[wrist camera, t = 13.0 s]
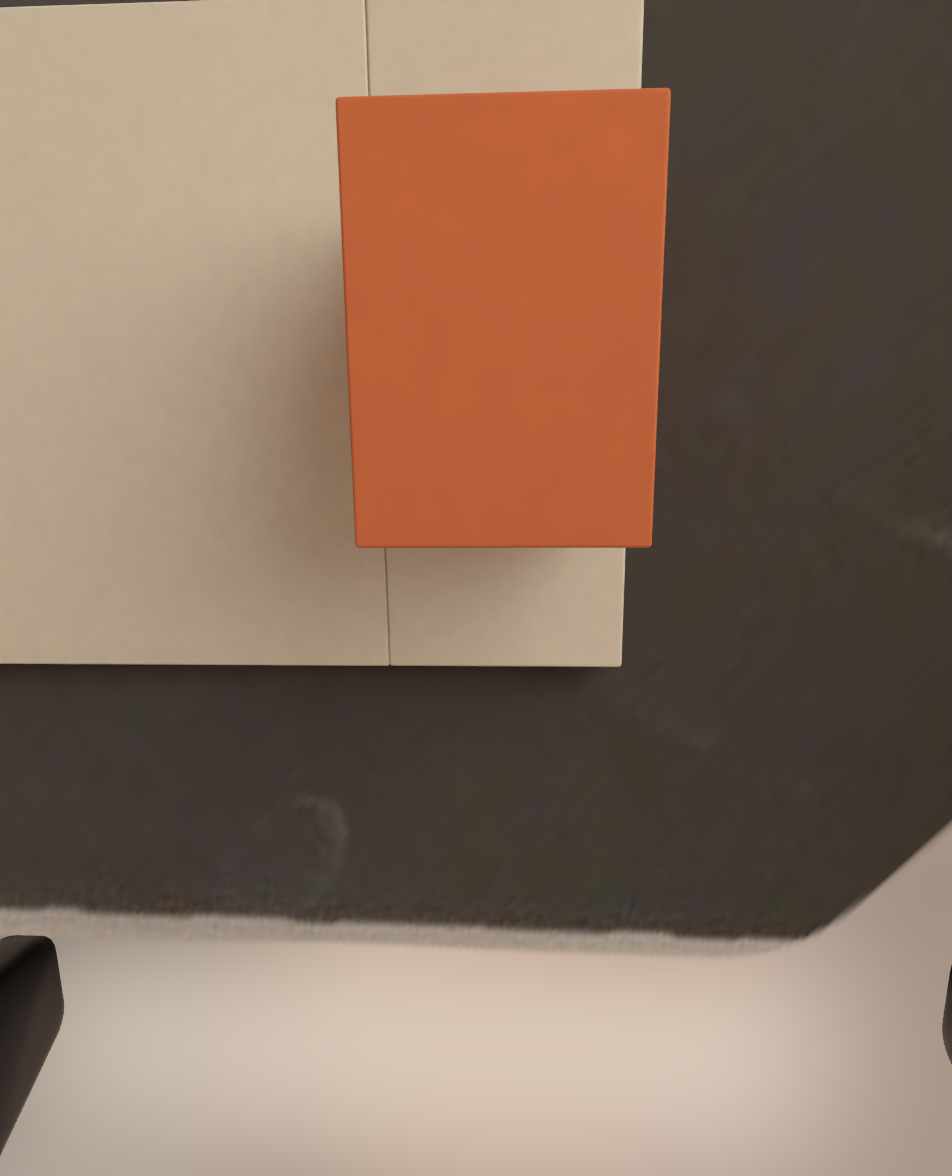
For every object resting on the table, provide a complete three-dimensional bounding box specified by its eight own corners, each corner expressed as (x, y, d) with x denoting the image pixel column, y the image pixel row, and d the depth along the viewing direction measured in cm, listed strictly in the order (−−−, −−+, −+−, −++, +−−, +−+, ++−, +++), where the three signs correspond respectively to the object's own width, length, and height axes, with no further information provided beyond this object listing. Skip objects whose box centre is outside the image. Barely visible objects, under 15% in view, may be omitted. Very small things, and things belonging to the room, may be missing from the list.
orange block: (601, 494, 19) (652, 548, 12) (411, 495, 19) (354, 548, 12) (609, 209, 17) (672, 86, 10) (404, 214, 17) (334, 95, 11)
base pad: (616, 654, 20) (621, 667, 19) (-87, 651, 20) (-117, 663, 19) (637, 8, 16) (645, -17, 15) (-198, 36, 17) (-241, 14, 16)
